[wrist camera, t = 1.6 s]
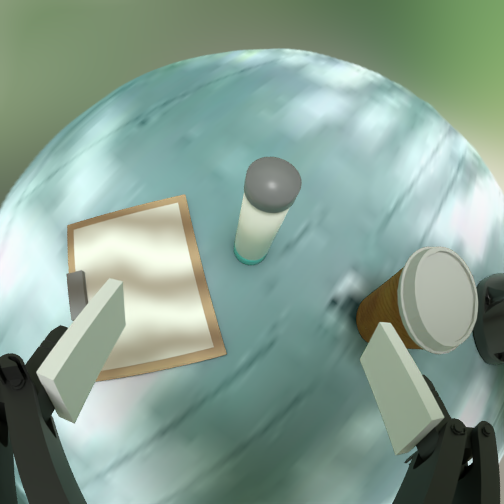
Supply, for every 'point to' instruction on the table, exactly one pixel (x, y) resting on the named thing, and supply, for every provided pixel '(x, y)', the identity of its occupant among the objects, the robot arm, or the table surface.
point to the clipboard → (146, 286)
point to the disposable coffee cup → (425, 302)
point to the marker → (264, 206)
